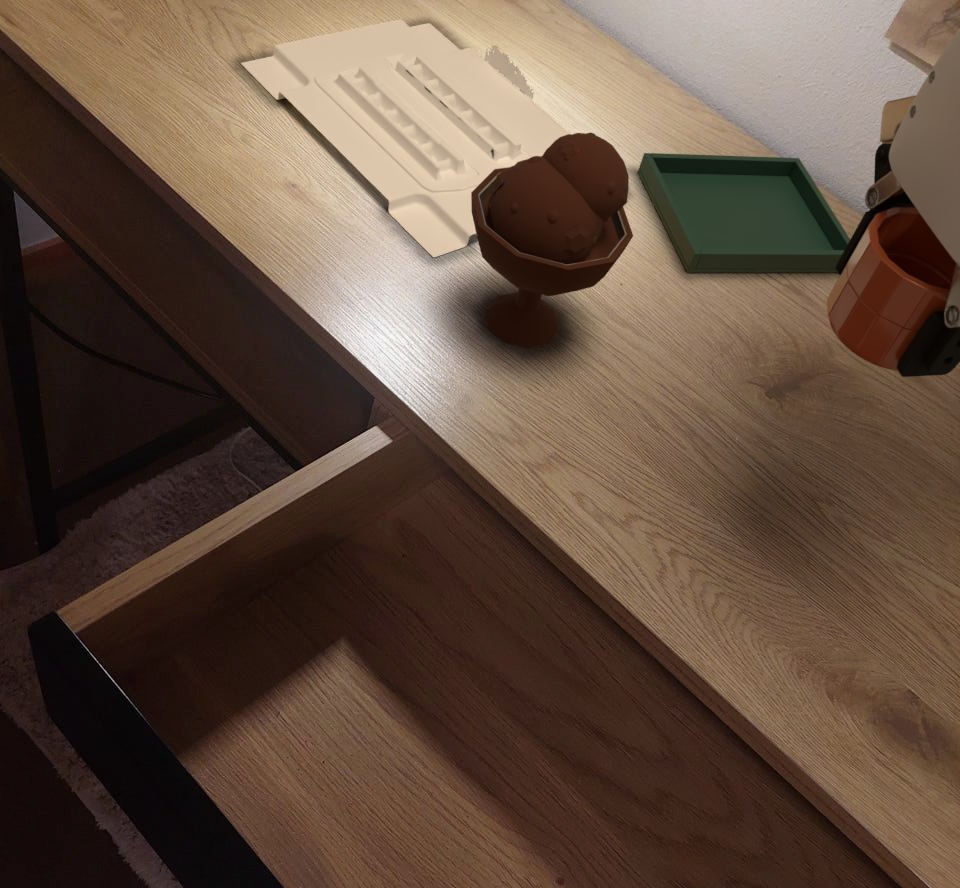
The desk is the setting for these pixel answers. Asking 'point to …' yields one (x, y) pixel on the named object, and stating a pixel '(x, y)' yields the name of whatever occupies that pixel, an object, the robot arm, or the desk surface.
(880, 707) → the desk surface
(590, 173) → the ice cream bowl
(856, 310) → the small cup
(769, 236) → the green tray
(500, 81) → the tray
